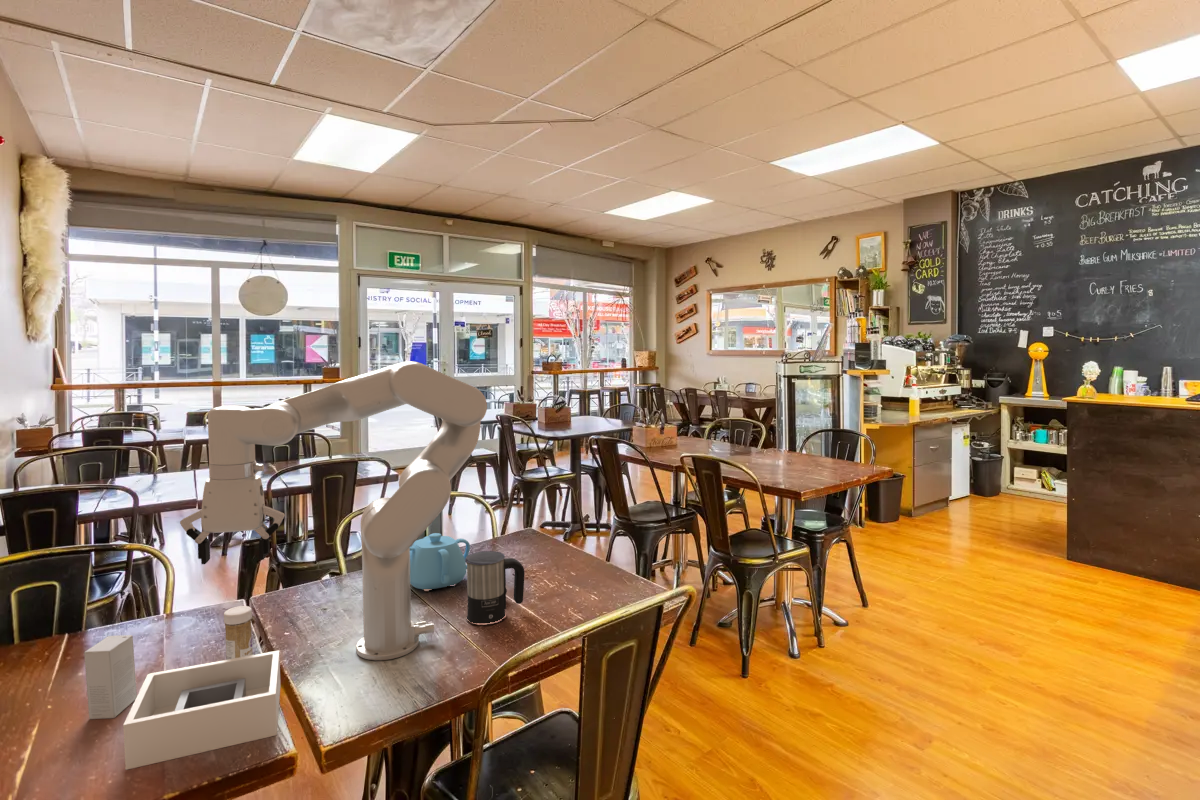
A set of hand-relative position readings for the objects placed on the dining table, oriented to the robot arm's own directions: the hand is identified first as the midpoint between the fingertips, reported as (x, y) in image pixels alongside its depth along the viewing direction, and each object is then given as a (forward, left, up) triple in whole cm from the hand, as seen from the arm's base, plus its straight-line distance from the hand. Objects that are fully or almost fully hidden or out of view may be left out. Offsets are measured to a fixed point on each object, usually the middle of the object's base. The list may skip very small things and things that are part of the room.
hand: (234, 559), depth 118 cm
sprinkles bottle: (0, +3, -23) cm, 23 cm away
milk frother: (-51, -8, -23) cm, 57 cm away
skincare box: (+19, +5, -23) cm, 30 cm away
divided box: (+3, +17, -22) cm, 28 cm away
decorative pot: (-43, -31, -23) cm, 58 cm away
